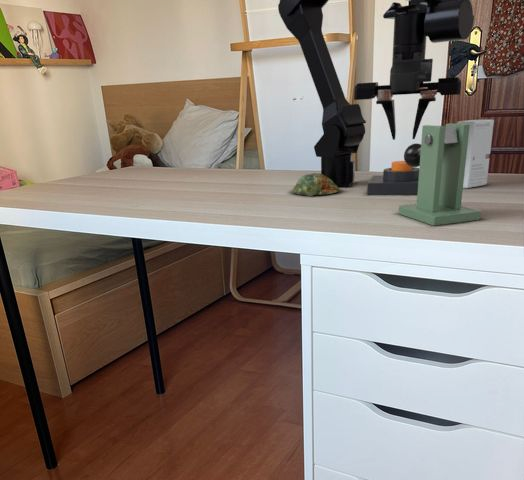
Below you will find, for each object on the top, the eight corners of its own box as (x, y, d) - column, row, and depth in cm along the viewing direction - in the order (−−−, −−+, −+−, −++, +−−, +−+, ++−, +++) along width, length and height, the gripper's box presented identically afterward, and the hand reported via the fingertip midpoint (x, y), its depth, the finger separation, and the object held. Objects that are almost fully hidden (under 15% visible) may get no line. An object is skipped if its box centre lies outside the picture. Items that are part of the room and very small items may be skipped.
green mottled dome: (343, 166, 109) (331, 174, 101) (344, 187, 111) (333, 196, 102) (296, 171, 113) (282, 178, 104) (298, 191, 114) (284, 200, 106)
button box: (367, 194, 103) (368, 173, 101) (372, 186, 111) (373, 166, 109) (431, 194, 99) (433, 172, 98) (432, 185, 108) (433, 165, 106)
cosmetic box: (468, 188, 103) (475, 121, 97) (449, 186, 106) (455, 121, 101) (488, 184, 106) (496, 119, 100) (469, 182, 109) (476, 118, 104)
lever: (401, 170, 87) (398, 148, 87) (420, 168, 88) (417, 146, 87) (441, 148, 76) (437, 122, 76) (462, 146, 77) (459, 121, 77)
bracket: (398, 213, 86) (403, 125, 80) (440, 208, 88) (448, 122, 82) (433, 225, 77) (442, 128, 72) (479, 219, 79) (492, 124, 74)
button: (390, 173, 102) (391, 163, 102) (391, 170, 106) (392, 161, 105) (411, 172, 101) (412, 163, 101) (412, 169, 105) (413, 160, 104)
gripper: (350, 47, 90) (349, 145, 97) (467, 38, 85) (456, 141, 92) (359, 50, 99) (356, 139, 106) (464, 42, 94) (454, 136, 101)
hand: (403, 139), depth 101 cm, fingers open, 3 cm apart
